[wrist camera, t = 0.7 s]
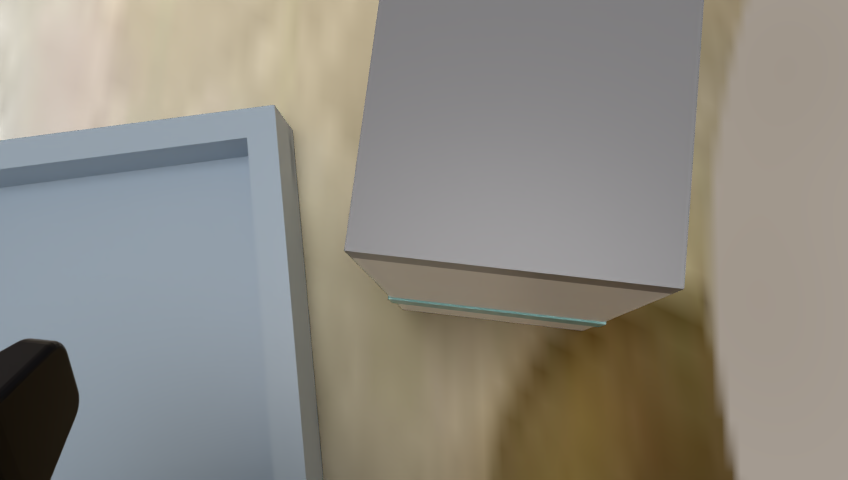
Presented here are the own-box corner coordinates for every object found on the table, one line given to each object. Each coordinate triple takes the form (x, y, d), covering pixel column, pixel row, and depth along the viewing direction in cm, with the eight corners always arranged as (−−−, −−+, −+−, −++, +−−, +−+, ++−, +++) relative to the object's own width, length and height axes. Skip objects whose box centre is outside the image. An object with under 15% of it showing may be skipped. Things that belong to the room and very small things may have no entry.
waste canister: (584, 333, 22) (686, 292, 11) (400, 311, 22) (340, 253, 12) (600, 154, 23) (709, -33, 12) (422, 136, 23) (384, -60, 13)
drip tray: (329, 544, 21) (313, 563, 19) (-92, 590, 22) (-154, 614, 19) (292, 130, 23) (274, 104, 21) (-91, 179, 24) (-148, 159, 21)
